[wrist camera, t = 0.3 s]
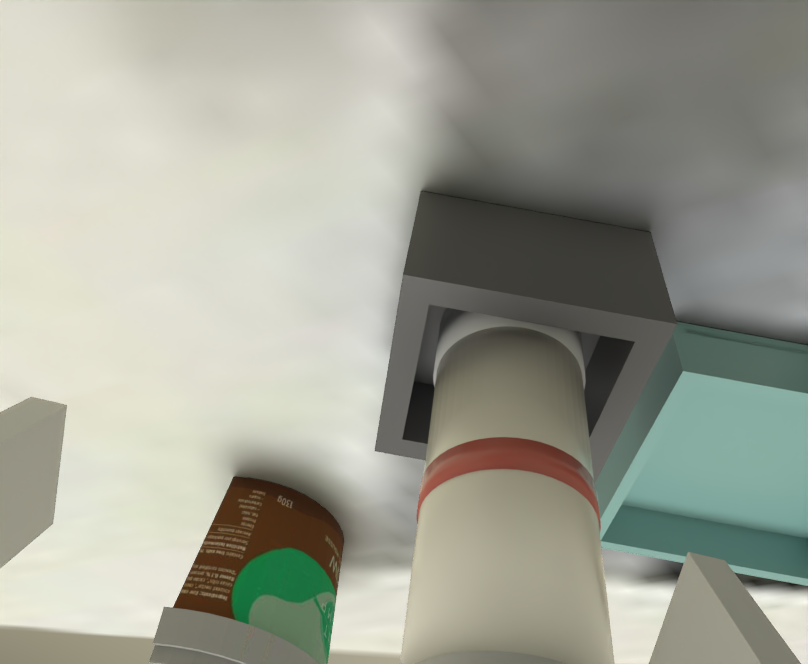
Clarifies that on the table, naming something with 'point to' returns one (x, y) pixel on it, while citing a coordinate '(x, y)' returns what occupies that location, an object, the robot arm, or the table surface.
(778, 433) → the parts tray
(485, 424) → the fuse
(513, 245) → the socket block
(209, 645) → the food container
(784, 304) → the table surface
